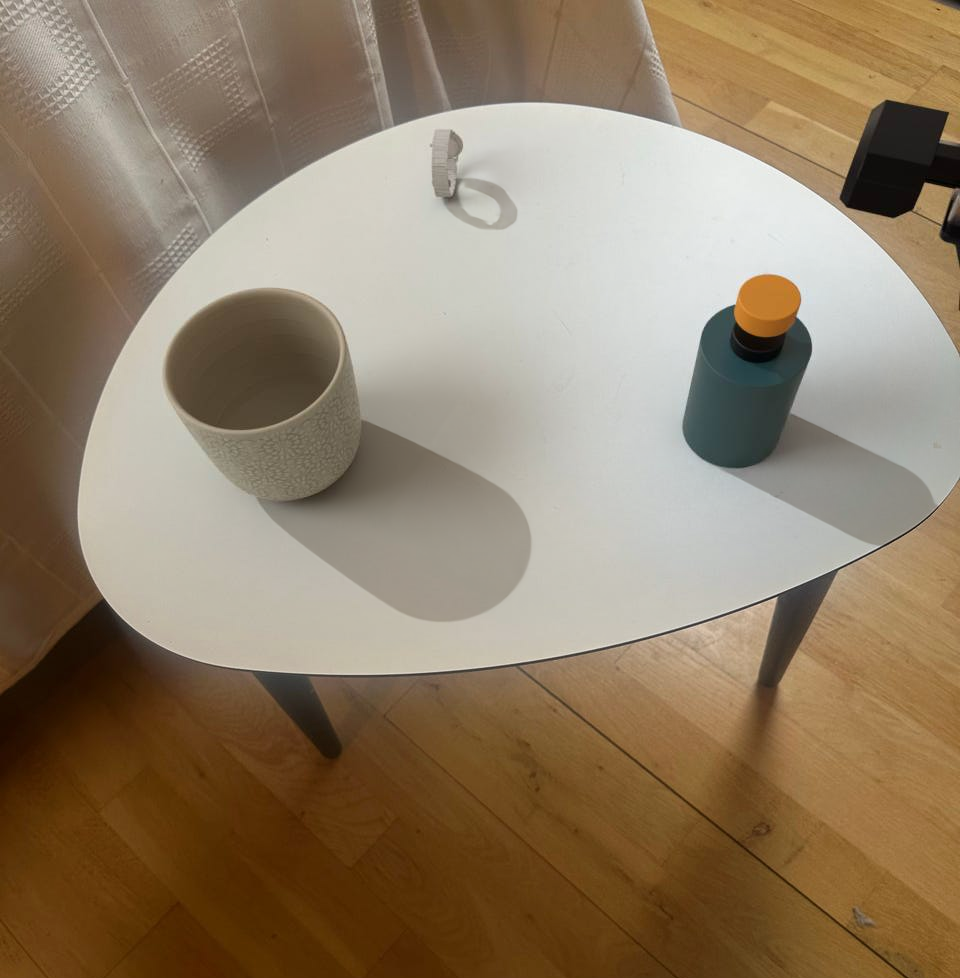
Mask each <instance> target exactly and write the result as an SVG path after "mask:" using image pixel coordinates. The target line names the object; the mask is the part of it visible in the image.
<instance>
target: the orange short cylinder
mask: <svg viewBox="0 0 960 978" xmlns="http://www.w3.org/2000/svg"><path fill="white" fill-rule="evenodd" d="M737 293H738V294H737V297H736V302H735V304H736V305H735V304H734V305H735V309H734V316H735V319H736V321H737V323H738V325H739V326H740V327H741V328H742V329H743V330H745V331H746V332H748V333H750V334H752V335H755V336H760V337H773V336H778V335H780V334H783V333H784V332H786V331H787V330H789V329H790V328H791V327H792V325H793V324H794V322H795V319H796V317H797V316H798V313H799V310H800V307H801V304H802V295H801V292H800V290H799V288H798V286H797V285H796V284H795V283H794V281H793V282H792V281H791V280H790V279H788V278H786V277H784V276H782V275H778V274H773V273H772V274H771V273H767V274H766V273H764V274H757V275H755V276H752V277H751V278H749V279H747V280H746V281H745V282H744V283H742V285H741V286H740V288H739V291H738V292H737Z"/></svg>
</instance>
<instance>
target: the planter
mask: <svg viewBox="0 0 960 978" xmlns="http://www.w3.org/2000/svg"><path fill="white" fill-rule="evenodd" d="M353 365H354V364H353V360H352V357H351V351H350V348H349V344H348V342H347V337H346V335H345V332H344V329H343V326H342V325H341V323H340V321H339V319H338V318H337V316H336V315H335V314H334V313H333V311H331V309H329V308H328V307H327V306H326V305H325V304H324V303H323V302H321V301H320V300H317V299H316V298H314V297H312V296H311V295H309V294H307V293H303V292H301V291H297V290H293V289H289V288H283V287H257V288H249V289H244V290H240V291H236V292H233V293H230V294H227V295H225V296H222V297H220V298H217V299H216V300H214V301H212V302H210V303H208V304H207V305H205V306H203V307H202V308H200V309H199V310H197V311H195V313H193V315H191V316H190V317H189V318H188V319H186V321H185V322H184V323H183V324H182V325H181V326H180V327H179V328H178V330H177V331H176V332H175V334H174V335H173V337H172V339H171V341H170V342H169V344H168V345H167V349H166V351H165V354H164V357H163V361H162V368H161V369H162V370H161V371H162V372H161V378H162V379H161V380H162V385H163V389H164V393H165V395H166V397H167V399H168V401H169V403H170V405H171V406H172V409H173V410H174V412H175V414H176V415H177V417H178V418H179V419H180V421H181V423H182V424H183V425H184V427H185V429H186V430H187V431H188V433H189V434H190V436H191V437H192V438H193V440H195V442H196V443H197V445H198V446H199V447H200V448H201V450H202V451H203V452H204V454H205V455H206V457H207V458H208V459H209V460H210V462H211V463H212V464H213V465H214V466H215V468H216V469H217V470H218V471H219V472H220V473H221V474H222V476H224V477H225V478H226V480H228V481H229V482H230V484H232V485H233V486H235V487H236V488H238V489H240V490H241V491H243V492H245V493H246V494H248V495H250V496H254V497H256V498H259V499H263V500H269V501H276V502H277V501H278V502H285V501H286V502H287V501H295V500H296V501H297V500H301V499H305V498H307V497H311V496H313V495H316V494H318V493H320V492H322V491H324V490H325V489H327V488H329V487H330V486H331V485H333V484H334V483H335V482H336V481H337V480H339V479H340V478H341V477H342V476H343V474H344V473H345V472H346V471H347V470H348V468H349V467H350V465H351V464H352V462H353V460H354V458H355V456H356V454H357V452H358V449H359V445H360V440H361V435H362V418H361V406H360V400H359V393H358V387H357V380H356V375H355V371H354V366H353Z"/></svg>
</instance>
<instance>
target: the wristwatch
mask: <svg viewBox="0 0 960 978" xmlns="http://www.w3.org/2000/svg"><path fill="white" fill-rule="evenodd" d="M433 133H434V134H433V137H432V140H431V143H430V144H429V147H430V148H432V149H431V178H432V180H431V185H432V187H433V191H434V195H435V197H437V198H438V197H439V198H452V197H453V195H454V194H455V190H456V184H457V170H458V169H457V167H458V165H457V163H458V162H459V155H460V154H461V153H462V152H463V149H464V143H463V142H464V141H463V139H462V138H461V136H460V135H459V134H457V133H456V131H454V130H453V129H450V128H448V129H447V128H436V129H435V130H434V132H433Z"/></svg>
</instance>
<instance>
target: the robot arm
mask: <svg viewBox="0 0 960 978" xmlns="http://www.w3.org/2000/svg"><path fill="white" fill-rule="evenodd" d="M930 1H932V2H934V3H937V4H940V5H942V6H945V7H947V8H950V9H953V10H956V11H959V12H960V0H930ZM949 114H950V111H946V110H941V109H935V108H931V107H926V106H921V105H917V104H912V103H908V102H907V103H906V102H903V101H902V102H901V101H896V100H891V99H885V100H884V101H882V102H881V103H879V104H877V105H876V106H875V107H873V108H872V109H871V110H870V114H869V115H868V118H867V121H866V123H865V125H864V129H863V131H862V134H861V137H860V139H859V141H858V144H857V147H856V149H855V153H854V155H853V157H852V160H851V163H850V166H849V169H848V172H847V173H846V174H847V175H846V177H845V180H844V183H843V186H842V189H841V191H840V193H839V198H838V199H839V200H840V201H841V203H842V204H843V205H844V207H845V208H847V209H851V210H855V211H859V212H864V213H868V214H873V215H877V216H881V217H885V218H890V219H896V218H897V217H900V216H903V215H904V214H907V213H909V212H911V211H913V210H914V209H915V207H916V204H917V203H918V200H919V197H920V195H921V193H922V191H923V188H924V185H925V184H929V185H934V186H938V187H943V188H947V189H952V191H951V194H950V198H949V201H948V205H947V208H946V210H945V213H944V216H943V219H942V224H941V226H940V229H939V232H938V235H939V238H940V239H941V240H942V242H945V243H947V244H951V245H954V247H955V251H956V257H957V261H958V266H959V268H960V143H958V142H954V141H950V140H945V139H941V138H942V135H943V132H944V130H945V127H946V124H947V121H948V117H949ZM958 295H959V297H958V311H959V312H960V293H959V294H958Z"/></svg>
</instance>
